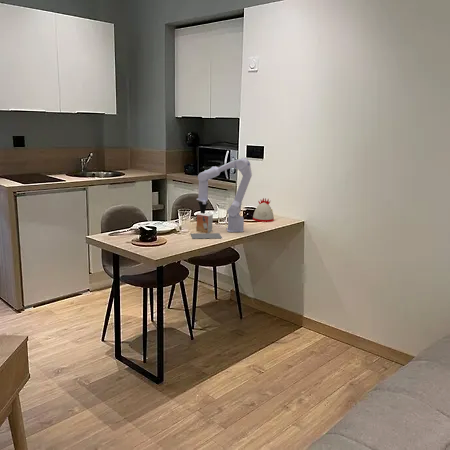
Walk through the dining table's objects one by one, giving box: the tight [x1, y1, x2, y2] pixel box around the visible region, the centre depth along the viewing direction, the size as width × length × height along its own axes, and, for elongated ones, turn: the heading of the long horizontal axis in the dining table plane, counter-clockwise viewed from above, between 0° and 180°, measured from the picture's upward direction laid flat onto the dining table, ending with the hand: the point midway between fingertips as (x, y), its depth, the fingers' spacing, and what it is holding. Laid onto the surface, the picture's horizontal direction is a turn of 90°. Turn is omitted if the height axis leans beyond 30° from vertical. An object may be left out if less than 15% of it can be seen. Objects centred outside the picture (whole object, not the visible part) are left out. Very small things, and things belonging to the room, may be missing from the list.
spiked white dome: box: [252, 197, 275, 223], centre depth 318 cm, size 14×14×15 cm
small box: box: [195, 212, 214, 233], centre depth 283 cm, size 8×6×10 cm
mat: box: [190, 232, 223, 240], centre depth 274 cm, size 17×10×1 cm, turn 100°
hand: (202, 213), depth 291 cm, fingers closed
